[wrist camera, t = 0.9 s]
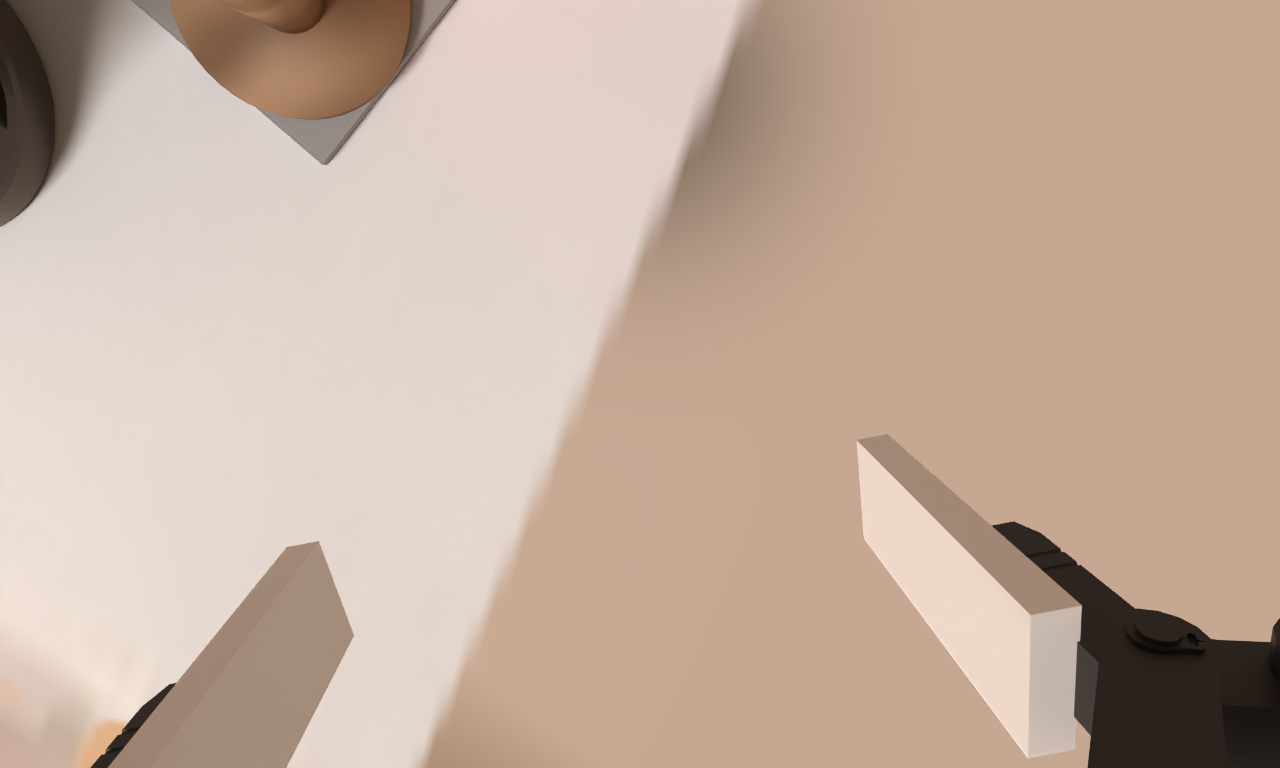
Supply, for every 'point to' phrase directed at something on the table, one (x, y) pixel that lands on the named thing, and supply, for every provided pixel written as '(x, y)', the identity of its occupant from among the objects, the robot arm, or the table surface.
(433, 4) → the mat
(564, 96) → the table surface
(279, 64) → the lid
